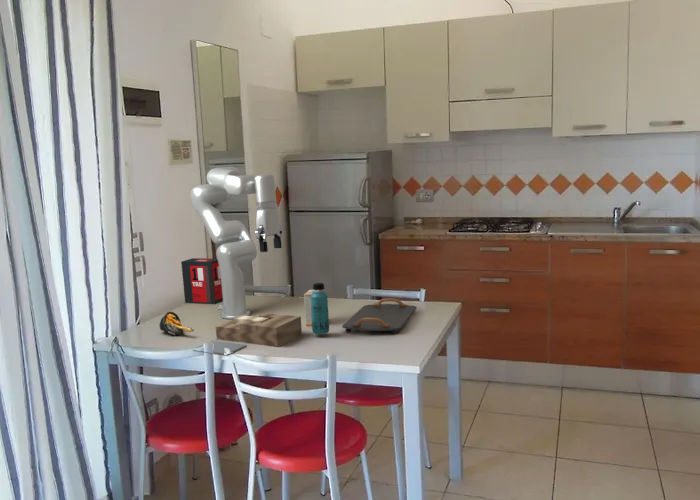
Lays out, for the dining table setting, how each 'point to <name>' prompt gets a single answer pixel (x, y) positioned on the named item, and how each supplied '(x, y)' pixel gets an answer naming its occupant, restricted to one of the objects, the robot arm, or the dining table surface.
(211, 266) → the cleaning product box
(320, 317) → the beverage bottle
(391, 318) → the serving board
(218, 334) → the slotted wooden block
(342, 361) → the dining table surface
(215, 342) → the rubber mat
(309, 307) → the supplement box
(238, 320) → the maple bar
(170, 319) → the fried shrimp in bowl
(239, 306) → the robot arm
